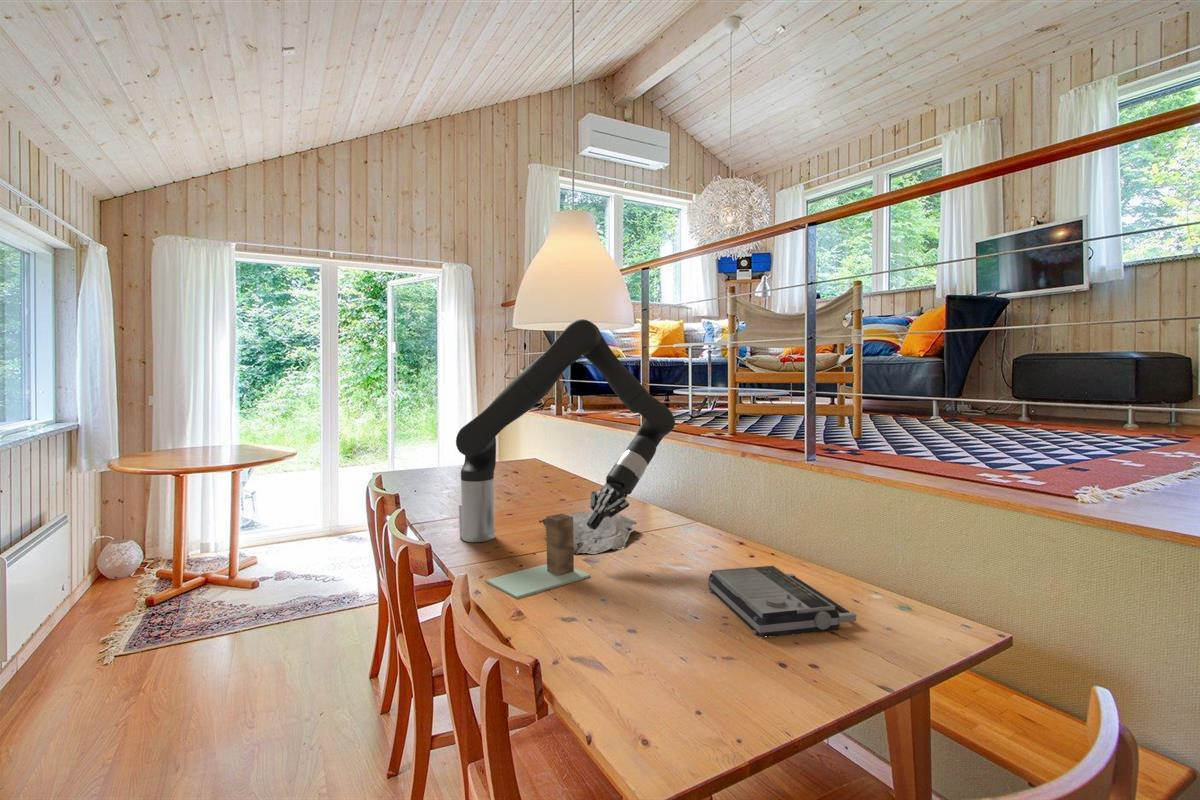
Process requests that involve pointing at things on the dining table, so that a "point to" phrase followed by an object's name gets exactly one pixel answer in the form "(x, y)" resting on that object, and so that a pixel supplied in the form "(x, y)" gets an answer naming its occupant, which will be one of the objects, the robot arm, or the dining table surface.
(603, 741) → the dining table surface
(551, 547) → the walnut block
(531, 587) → the mat
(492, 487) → the robot arm
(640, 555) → the dining table surface
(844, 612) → the radio
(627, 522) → the stone fragment
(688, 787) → the dining table surface
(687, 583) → the dining table surface
